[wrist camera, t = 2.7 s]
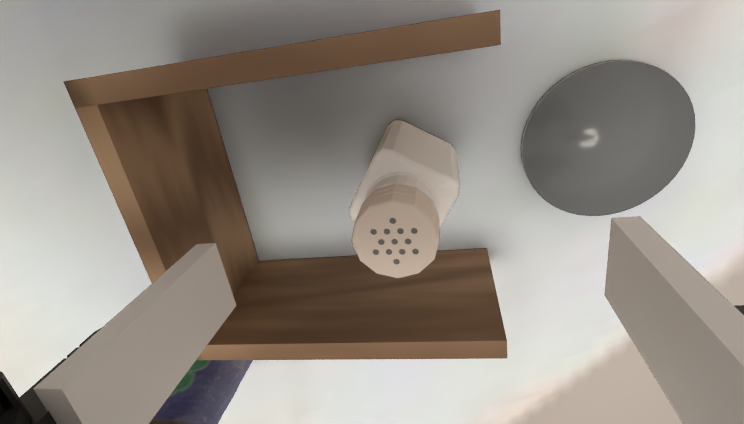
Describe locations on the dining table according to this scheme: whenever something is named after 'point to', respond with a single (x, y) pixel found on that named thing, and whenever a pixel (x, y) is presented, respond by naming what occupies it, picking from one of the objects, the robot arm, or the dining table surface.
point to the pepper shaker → (404, 201)
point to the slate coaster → (607, 137)
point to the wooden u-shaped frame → (229, 225)
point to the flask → (203, 393)
